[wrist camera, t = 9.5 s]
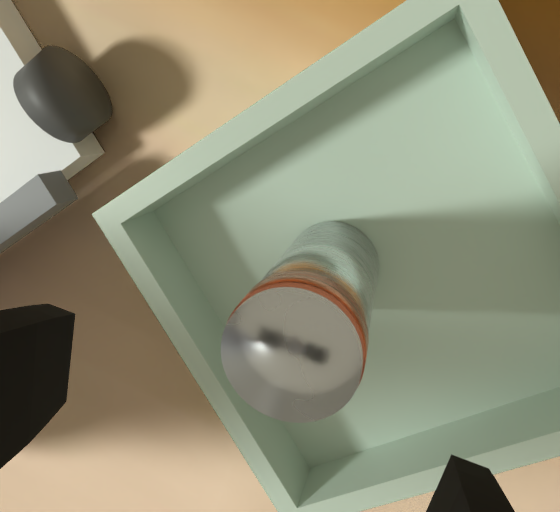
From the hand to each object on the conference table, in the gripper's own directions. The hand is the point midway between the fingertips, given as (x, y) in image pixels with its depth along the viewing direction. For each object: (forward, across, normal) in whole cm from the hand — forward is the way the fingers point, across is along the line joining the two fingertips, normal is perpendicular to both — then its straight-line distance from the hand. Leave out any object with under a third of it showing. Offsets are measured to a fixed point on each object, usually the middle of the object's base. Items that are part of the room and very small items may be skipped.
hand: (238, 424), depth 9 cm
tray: (+10, -2, 0) cm, 10 cm away
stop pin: (+9, 0, 0) cm, 9 cm away
